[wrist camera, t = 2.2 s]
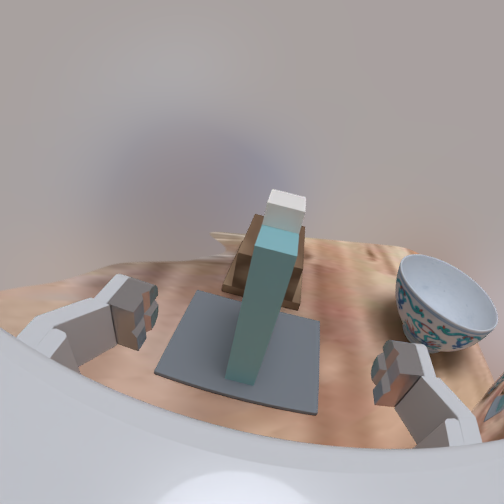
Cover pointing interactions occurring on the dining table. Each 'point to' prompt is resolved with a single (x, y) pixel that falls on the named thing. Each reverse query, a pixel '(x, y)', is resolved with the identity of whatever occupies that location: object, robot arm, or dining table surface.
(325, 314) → the dining table surface
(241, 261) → the rack
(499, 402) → the beer glass
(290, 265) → the teal rectangular block
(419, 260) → the chinaware
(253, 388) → the mat
